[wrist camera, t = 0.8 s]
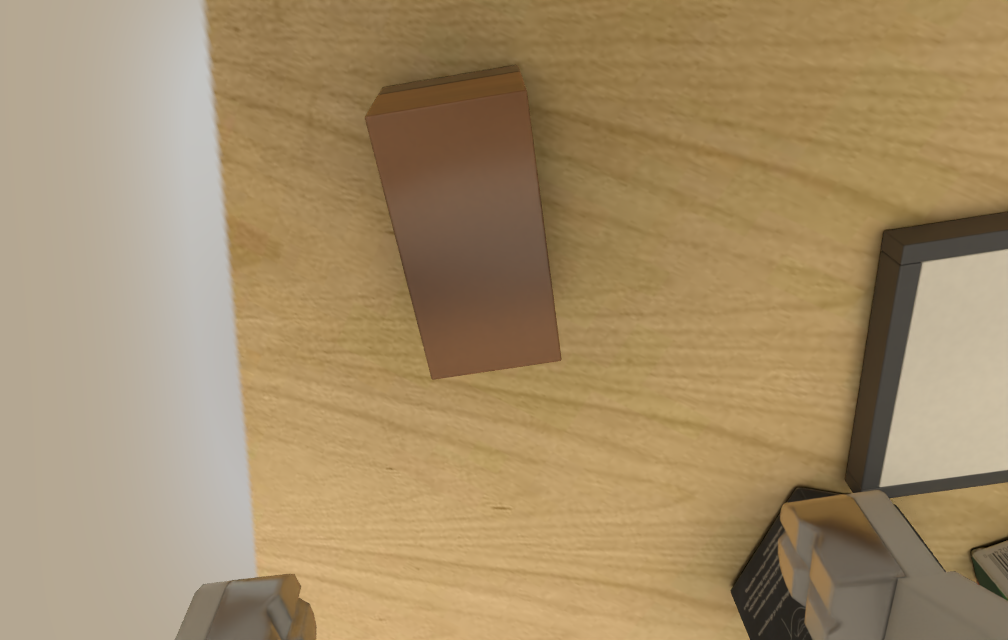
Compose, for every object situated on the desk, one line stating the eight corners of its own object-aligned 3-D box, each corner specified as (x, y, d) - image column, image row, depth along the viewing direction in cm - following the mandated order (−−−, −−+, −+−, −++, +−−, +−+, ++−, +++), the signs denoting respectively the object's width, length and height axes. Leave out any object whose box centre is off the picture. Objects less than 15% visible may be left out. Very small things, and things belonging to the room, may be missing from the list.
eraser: (381, 87, 21) (364, 116, 18) (518, 63, 21) (526, 89, 18) (437, 321, 26) (431, 380, 23) (550, 303, 26) (561, 361, 22)
